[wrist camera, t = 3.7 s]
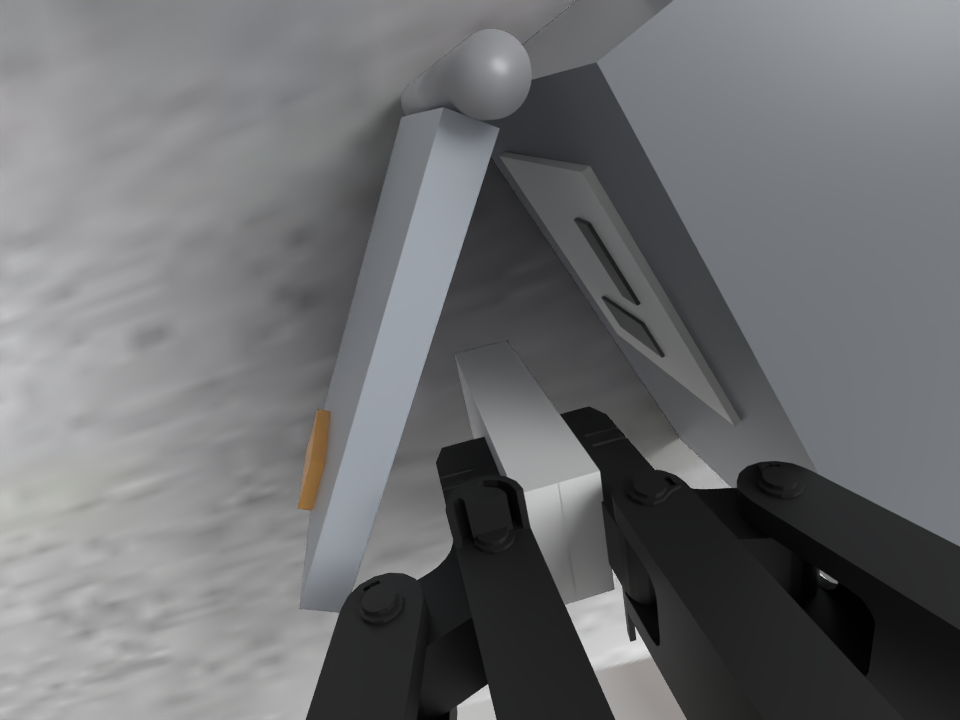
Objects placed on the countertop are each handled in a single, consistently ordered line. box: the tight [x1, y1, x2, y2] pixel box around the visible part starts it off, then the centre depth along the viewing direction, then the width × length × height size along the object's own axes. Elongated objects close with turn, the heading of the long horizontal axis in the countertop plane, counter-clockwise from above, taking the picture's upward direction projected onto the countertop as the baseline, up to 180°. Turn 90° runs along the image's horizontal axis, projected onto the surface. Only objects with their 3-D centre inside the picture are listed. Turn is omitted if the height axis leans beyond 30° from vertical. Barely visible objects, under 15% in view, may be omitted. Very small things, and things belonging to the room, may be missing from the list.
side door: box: [298, 29, 532, 612], centre depth 12 cm, size 10×1×8 cm, turn 161°
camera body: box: [479, 0, 960, 584], centre depth 13 cm, size 15×10×11 cm
